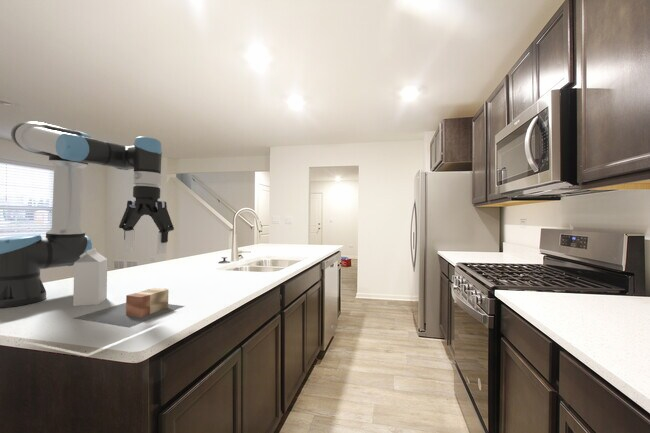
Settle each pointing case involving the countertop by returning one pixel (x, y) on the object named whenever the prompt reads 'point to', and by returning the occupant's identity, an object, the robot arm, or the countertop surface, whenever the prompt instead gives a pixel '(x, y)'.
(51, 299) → the countertop surface
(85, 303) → the milk carton
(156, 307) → the terracotta wooden block
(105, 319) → the mat
